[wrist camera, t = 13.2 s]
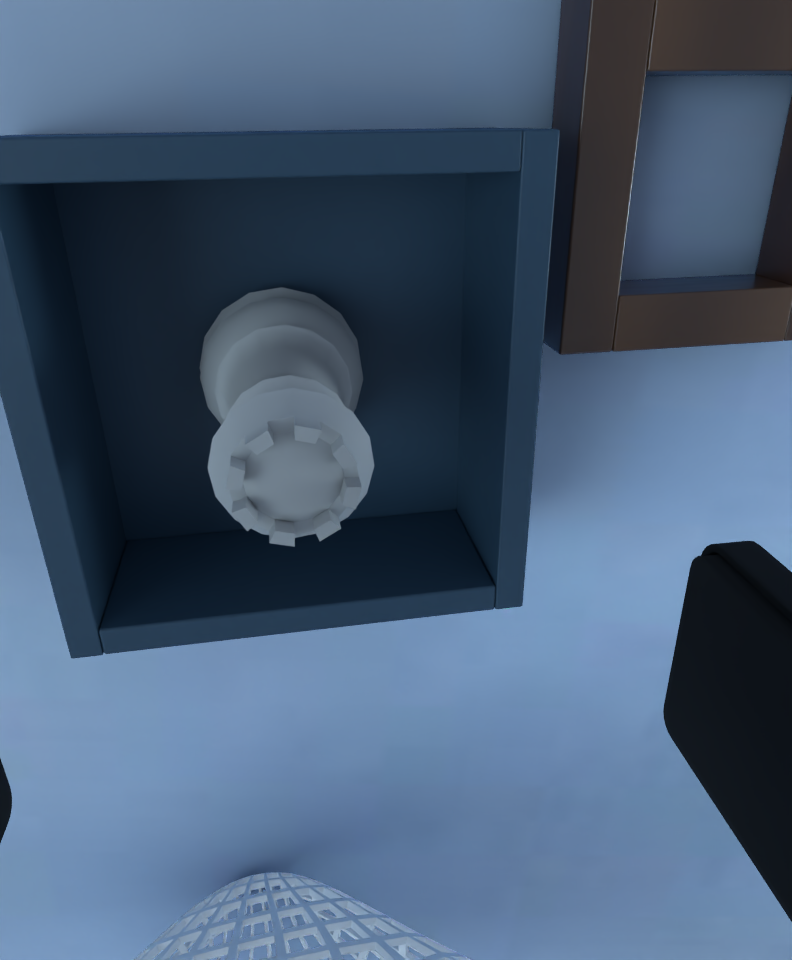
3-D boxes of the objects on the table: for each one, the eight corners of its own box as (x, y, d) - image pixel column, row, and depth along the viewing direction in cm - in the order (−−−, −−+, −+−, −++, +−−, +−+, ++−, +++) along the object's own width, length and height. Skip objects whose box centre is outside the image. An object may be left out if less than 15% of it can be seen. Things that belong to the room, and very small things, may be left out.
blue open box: (490, 127, 19) (561, 128, 15) (474, 518, 25) (522, 606, 20) (14, 135, 18) (-69, 138, 13) (107, 554, 23) (70, 659, 18)
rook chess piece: (322, 457, 22) (353, 613, 15) (178, 403, 21) (136, 549, 14) (385, 323, 21) (452, 427, 14) (234, 255, 19) (221, 332, 12)
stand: (945, -356, 17) (1027, -412, 15) (789, 321, 23) (833, 338, 22) (589, -389, 15) (632, -456, 14) (535, 337, 22) (559, 355, 20)
